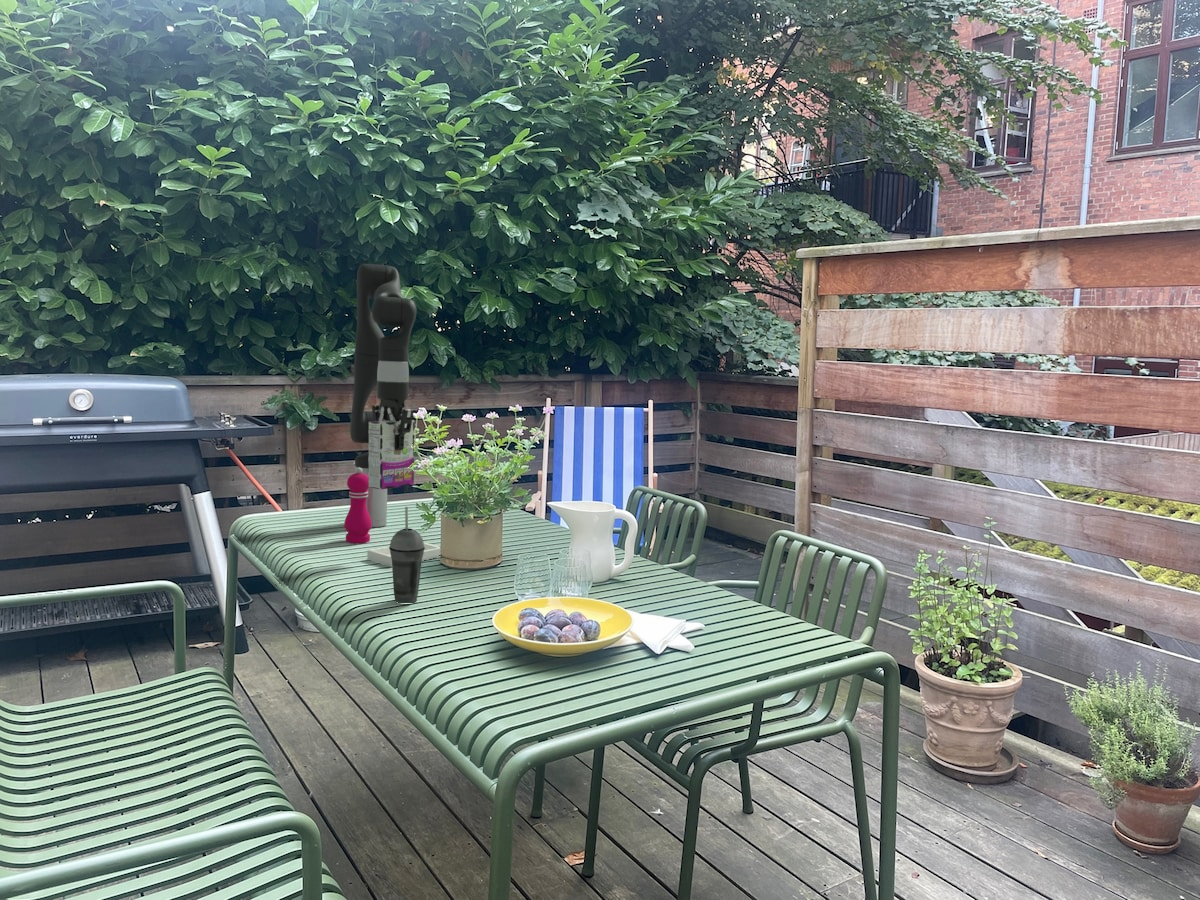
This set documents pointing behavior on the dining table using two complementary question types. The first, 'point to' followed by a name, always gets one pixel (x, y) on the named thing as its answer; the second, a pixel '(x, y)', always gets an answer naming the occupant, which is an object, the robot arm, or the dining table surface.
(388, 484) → the candy bar box
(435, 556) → the tray
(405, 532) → the beverage cup
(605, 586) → the dining table surface
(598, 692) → the dining table surface
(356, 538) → the pepper mill
